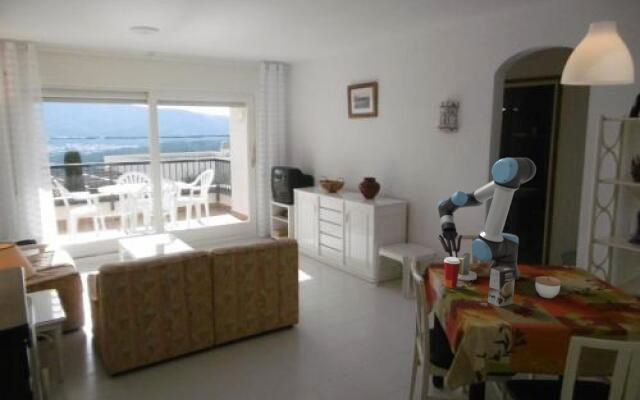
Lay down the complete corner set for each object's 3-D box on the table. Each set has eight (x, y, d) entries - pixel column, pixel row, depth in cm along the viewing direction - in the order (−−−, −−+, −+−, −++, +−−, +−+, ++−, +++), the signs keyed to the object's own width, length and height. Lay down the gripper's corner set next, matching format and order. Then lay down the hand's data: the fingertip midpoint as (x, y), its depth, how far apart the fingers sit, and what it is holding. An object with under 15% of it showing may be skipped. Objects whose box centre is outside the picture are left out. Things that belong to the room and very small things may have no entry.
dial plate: (480, 276, 239) (481, 272, 239) (470, 282, 228) (470, 279, 228) (455, 270, 248) (456, 267, 248) (444, 276, 237) (444, 273, 237)
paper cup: (457, 284, 226) (458, 257, 224) (460, 289, 219) (462, 261, 216) (441, 283, 227) (442, 256, 225) (443, 288, 219) (445, 260, 217)
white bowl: (536, 290, 219) (538, 271, 218) (561, 295, 213) (563, 276, 212) (531, 296, 210) (533, 277, 209) (557, 301, 204) (559, 282, 203)
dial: (461, 268, 245) (462, 252, 244) (472, 270, 242) (473, 254, 240) (453, 275, 234) (454, 258, 232) (464, 277, 230) (465, 260, 229)
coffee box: (499, 307, 197) (501, 271, 195) (487, 302, 203) (490, 267, 200) (513, 303, 201) (516, 269, 199) (501, 298, 207) (504, 265, 204)
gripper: (458, 229, 252) (465, 266, 239) (434, 228, 252) (440, 266, 239) (461, 221, 246) (469, 260, 232) (437, 221, 246) (444, 259, 232)
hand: (454, 263), depth 235 cm, fingers closed
